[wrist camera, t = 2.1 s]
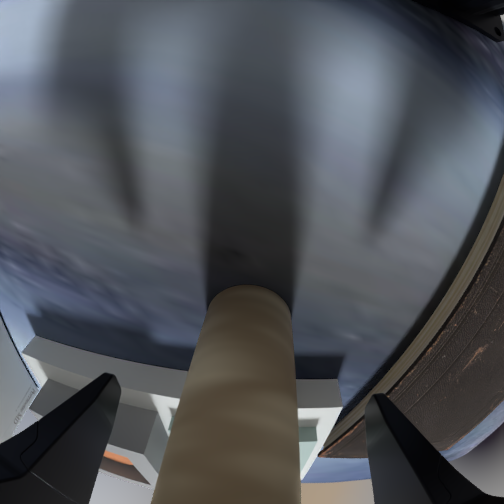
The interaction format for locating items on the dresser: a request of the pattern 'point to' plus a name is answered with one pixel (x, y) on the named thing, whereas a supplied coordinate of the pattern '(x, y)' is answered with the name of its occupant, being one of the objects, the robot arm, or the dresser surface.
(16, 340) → the dresser surface
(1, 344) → the skincare box
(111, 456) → the button
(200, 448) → the beige cylindrical rod
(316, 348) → the dresser surface
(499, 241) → the hardcover book
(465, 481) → the robot arm
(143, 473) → the panel
